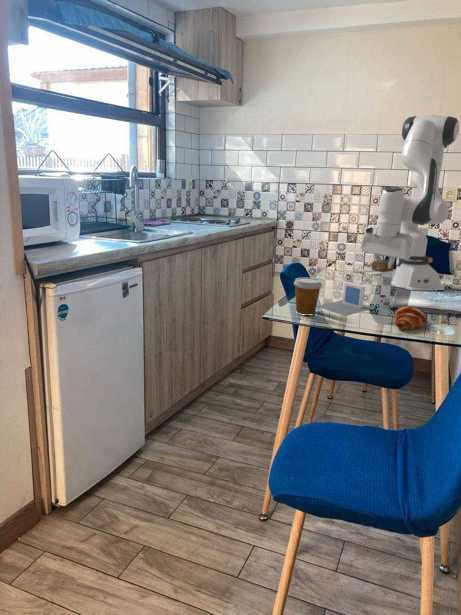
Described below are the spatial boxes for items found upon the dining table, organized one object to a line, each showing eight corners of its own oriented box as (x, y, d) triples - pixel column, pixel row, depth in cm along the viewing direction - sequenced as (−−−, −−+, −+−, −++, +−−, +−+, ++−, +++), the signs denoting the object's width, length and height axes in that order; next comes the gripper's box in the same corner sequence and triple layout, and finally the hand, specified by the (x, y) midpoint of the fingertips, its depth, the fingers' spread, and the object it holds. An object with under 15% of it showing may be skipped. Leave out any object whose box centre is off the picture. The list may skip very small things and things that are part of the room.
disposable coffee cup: (322, 317, 174) (326, 283, 171) (296, 317, 173) (298, 283, 169) (313, 309, 183) (316, 277, 180) (288, 309, 182) (290, 277, 179)
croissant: (407, 325, 181) (399, 304, 181) (435, 317, 176) (427, 296, 176) (390, 339, 164) (382, 316, 164) (421, 331, 158) (412, 307, 158)
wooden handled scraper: (397, 271, 196) (399, 261, 195) (371, 275, 185) (372, 265, 184) (382, 268, 201) (383, 258, 200) (355, 272, 190) (356, 261, 189)
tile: (345, 302, 192) (347, 282, 189) (362, 307, 186) (365, 286, 184) (342, 303, 190) (344, 282, 188) (359, 308, 185) (362, 286, 182)
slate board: (344, 301, 196) (345, 299, 196) (375, 310, 186) (376, 308, 186) (314, 308, 185) (314, 306, 185) (345, 317, 175) (345, 315, 175)
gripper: (417, 234, 186) (412, 271, 190) (370, 227, 201) (365, 262, 205) (408, 234, 182) (402, 272, 186) (360, 228, 197) (356, 263, 201)
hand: (383, 267), depth 195 cm, fingers closed on wooden handled scraper, 3 cm apart
